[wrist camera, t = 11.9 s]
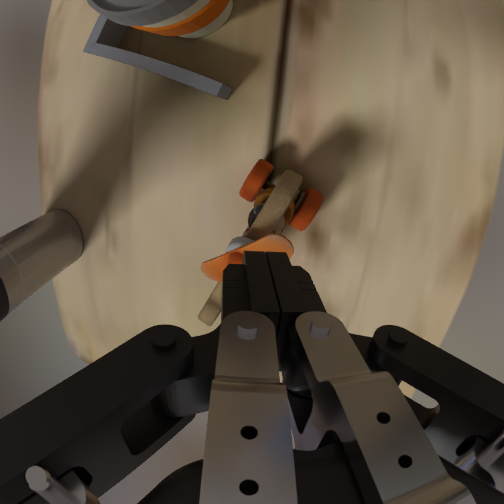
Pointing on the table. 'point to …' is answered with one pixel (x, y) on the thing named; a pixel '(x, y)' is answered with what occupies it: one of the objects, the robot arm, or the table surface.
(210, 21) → the reusable coffee cup
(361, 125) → the table surface
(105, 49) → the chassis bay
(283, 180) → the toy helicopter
